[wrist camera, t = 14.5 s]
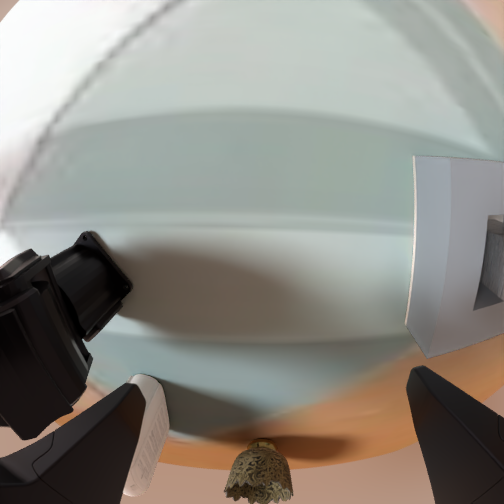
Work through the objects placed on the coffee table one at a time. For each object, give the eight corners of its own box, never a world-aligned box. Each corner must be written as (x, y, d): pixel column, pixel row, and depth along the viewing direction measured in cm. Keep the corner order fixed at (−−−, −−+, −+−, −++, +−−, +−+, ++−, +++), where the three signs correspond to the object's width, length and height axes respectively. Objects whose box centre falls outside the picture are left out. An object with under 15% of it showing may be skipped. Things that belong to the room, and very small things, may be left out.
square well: (404, 323, 21) (426, 358, 16) (412, 155, 17) (449, 158, 12) (506, 297, 19) (532, 320, 15) (521, 164, 15) (556, 171, 10)
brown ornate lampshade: (305, 438, 27) (307, 493, 20) (271, 460, 30) (269, 508, 22) (251, 421, 26) (244, 481, 19) (222, 445, 29) (213, 496, 21)
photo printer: (127, 368, 25) (75, 455, 14) (164, 377, 25) (120, 475, 13) (142, 421, 29) (110, 495, 17) (173, 429, 29) (146, 508, 17)
